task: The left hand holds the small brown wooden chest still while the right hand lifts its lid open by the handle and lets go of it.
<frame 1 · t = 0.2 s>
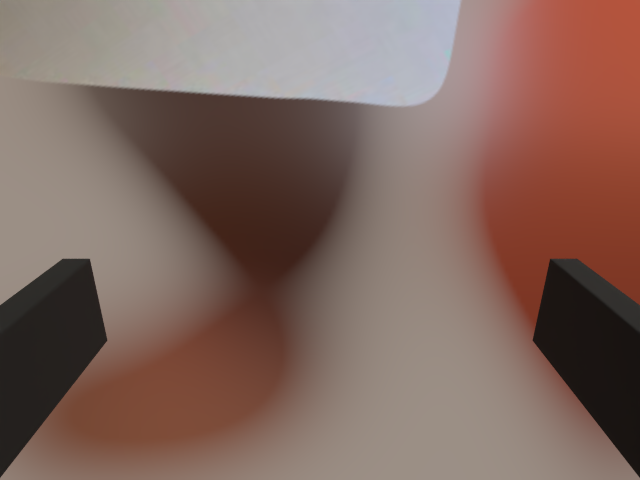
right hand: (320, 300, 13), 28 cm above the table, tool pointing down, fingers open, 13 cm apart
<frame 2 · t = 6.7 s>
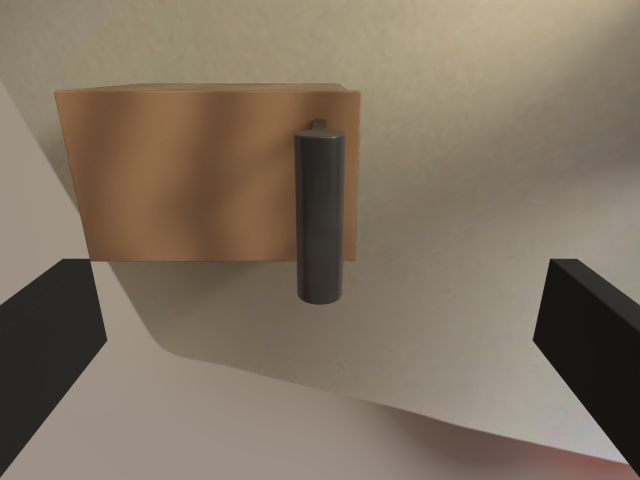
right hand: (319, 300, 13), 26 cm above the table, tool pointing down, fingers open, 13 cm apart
chest: (243, 147, 36), on the table
lid: (200, 198, 22), point 15 cm above the table, hinge at 0.0°
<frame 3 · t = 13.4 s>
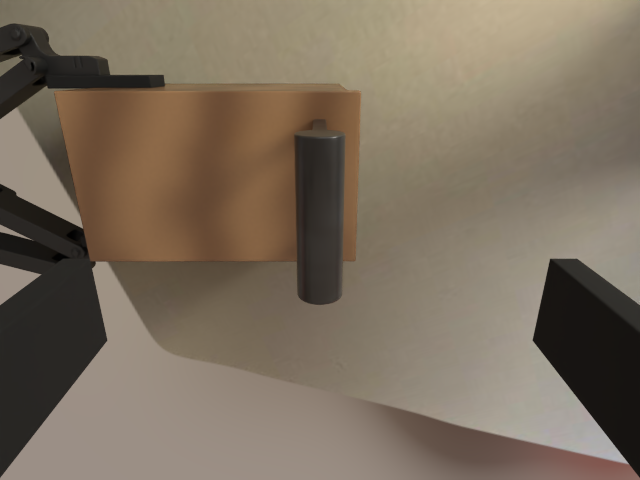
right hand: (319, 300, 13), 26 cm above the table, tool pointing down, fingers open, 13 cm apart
chest: (243, 148, 36), on the table, touching left hand
lid: (201, 198, 22), point 15 cm above the table, hinge at 0.0°
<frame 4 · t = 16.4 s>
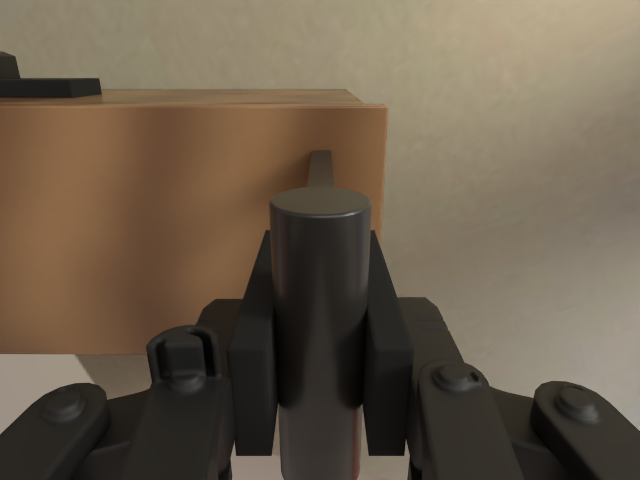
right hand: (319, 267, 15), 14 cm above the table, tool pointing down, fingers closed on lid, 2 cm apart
chest: (219, 173, 28), on the table, touching left hand
lid: (124, 286, 13), point 15 cm above the table, hinge at 0.7°, touching right hand
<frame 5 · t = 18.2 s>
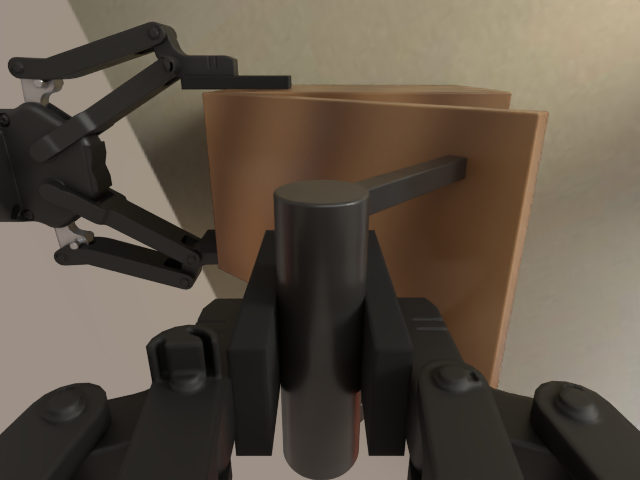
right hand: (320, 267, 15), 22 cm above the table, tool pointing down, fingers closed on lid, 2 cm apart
left hand: (291, 167, 29), fingers closed on chest, 10 cm apart
chest: (350, 151, 35), on the table, touching left hand
lid: (261, 240, 17), point 20 cm above the table, hinge at 41.0°, touching right hand
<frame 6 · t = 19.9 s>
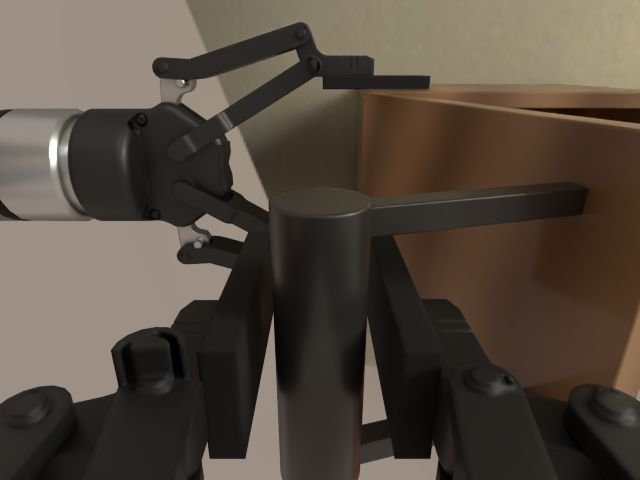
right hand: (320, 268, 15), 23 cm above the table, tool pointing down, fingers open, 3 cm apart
left hand: (417, 166, 30), fingers closed on chest, 10 cm apart
chest: (455, 150, 35), on the table, touching left hand
lid: (357, 244, 17), point 20 cm above the table, hinge at 72.5°
when the left hand's fingers open (6 cm above the table, at t = 23.9 s): chest stays where it is, on the table.
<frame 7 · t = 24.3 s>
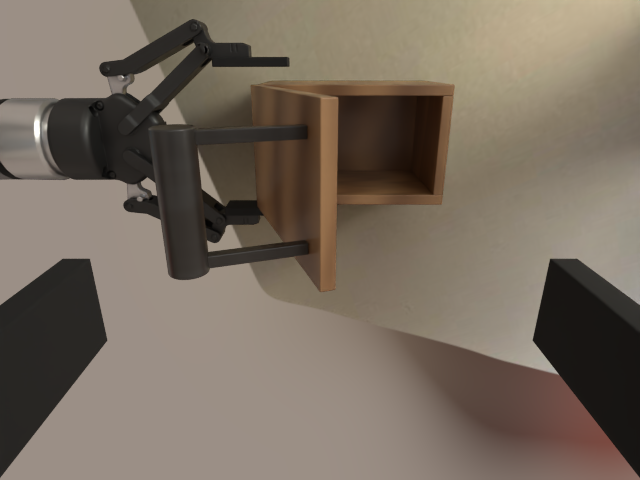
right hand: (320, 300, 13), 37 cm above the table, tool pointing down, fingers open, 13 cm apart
left hand: (290, 139, 41), fingers open, 13 cm apart
chest: (346, 130, 47), on the table
lid: (228, 173, 28), point 21 cm above the table, hinge at 70.6°
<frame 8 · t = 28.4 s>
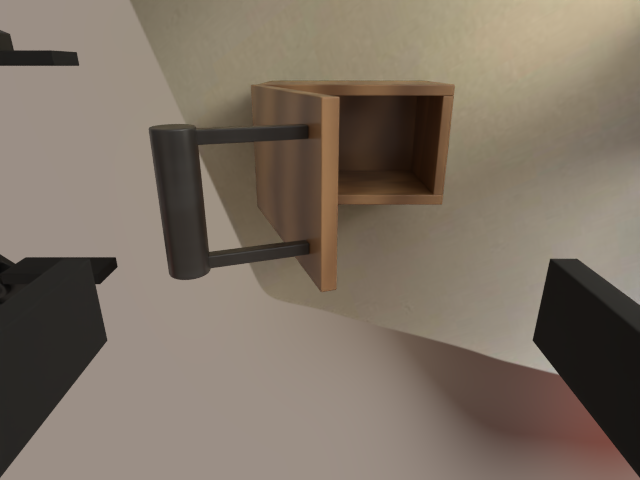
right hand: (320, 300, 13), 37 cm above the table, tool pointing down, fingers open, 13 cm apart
chest: (346, 130, 47), on the table
lid: (228, 172, 28), point 21 cm above the table, hinge at 70.6°
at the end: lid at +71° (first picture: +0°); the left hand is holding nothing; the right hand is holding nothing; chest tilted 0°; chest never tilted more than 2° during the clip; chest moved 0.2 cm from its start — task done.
